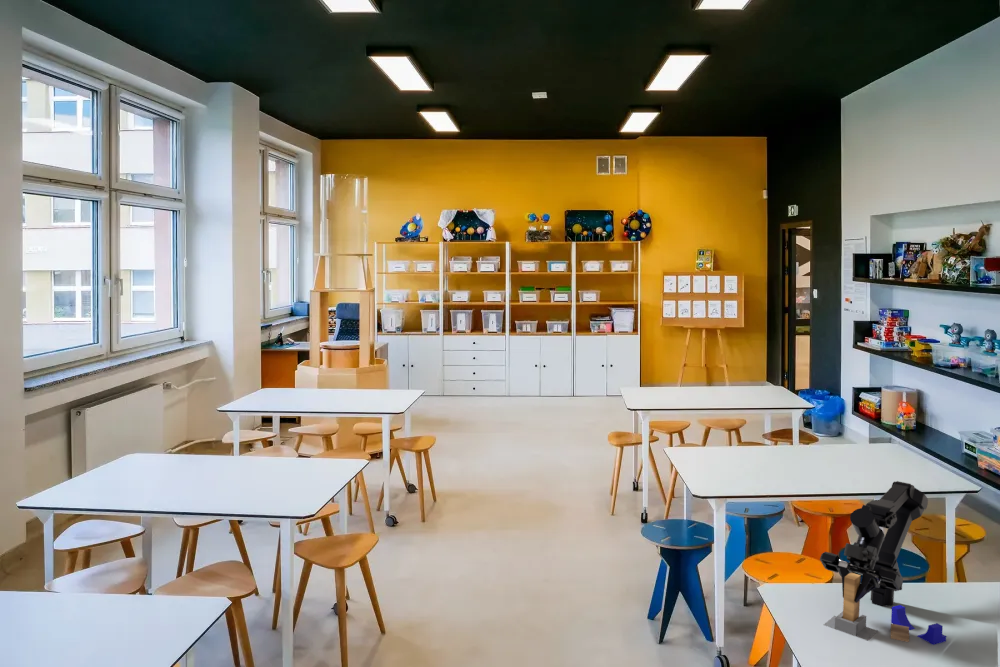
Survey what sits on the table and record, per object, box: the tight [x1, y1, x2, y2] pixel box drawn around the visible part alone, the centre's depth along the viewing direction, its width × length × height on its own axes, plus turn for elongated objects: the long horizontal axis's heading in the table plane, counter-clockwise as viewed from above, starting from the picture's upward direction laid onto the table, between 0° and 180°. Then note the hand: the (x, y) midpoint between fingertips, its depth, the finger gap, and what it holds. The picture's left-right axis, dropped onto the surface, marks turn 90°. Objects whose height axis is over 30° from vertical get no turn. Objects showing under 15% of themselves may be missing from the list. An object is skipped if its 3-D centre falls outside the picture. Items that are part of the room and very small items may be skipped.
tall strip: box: [842, 572, 862, 622], centre depth 187 cm, size 4×2×12 cm, turn 133°
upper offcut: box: [890, 623, 910, 643], centre depth 183 cm, size 5×4×2 cm
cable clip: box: [890, 604, 947, 646], centre depth 185 cm, size 12×4×6 cm, turn 21°
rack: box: [823, 611, 879, 641], centre depth 187 cm, size 7×11×4 cm, turn 43°
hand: (849, 599), depth 186 cm, fingers closed on tall strip, 2 cm apart
